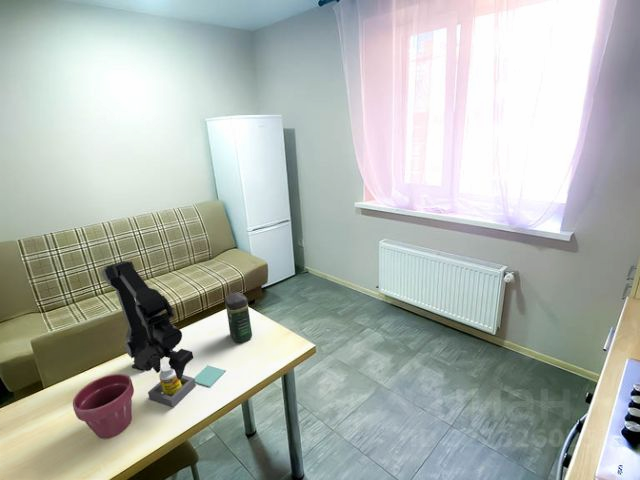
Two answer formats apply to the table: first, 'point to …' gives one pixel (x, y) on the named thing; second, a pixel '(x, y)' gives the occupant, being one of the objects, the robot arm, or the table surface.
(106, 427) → the plant pot
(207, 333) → the table surface
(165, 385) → the supplement bottle
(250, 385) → the table surface
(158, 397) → the socket
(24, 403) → the table surface
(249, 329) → the coffee jar
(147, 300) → the robot arm
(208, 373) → the mat
